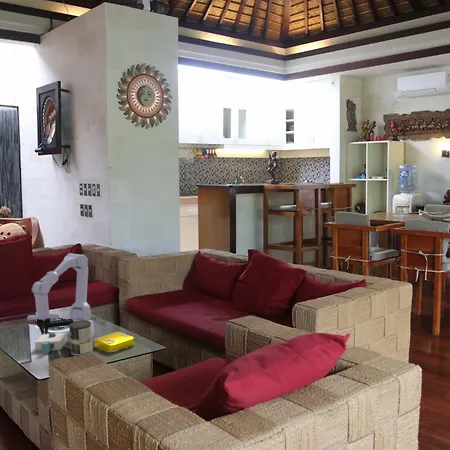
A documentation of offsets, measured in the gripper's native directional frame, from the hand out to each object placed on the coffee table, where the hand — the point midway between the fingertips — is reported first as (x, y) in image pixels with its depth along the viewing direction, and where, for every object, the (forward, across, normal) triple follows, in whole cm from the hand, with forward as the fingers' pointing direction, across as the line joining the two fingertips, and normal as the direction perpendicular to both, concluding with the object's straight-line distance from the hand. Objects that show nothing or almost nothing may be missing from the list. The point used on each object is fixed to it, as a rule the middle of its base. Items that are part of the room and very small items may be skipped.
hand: (44, 333), depth 269 cm
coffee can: (+10, +18, -1) cm, 20 cm away
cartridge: (+9, 0, +5) cm, 10 cm away
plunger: (+6, 0, +11) cm, 12 cm away
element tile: (+10, +32, +6) cm, 34 cm away
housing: (+9, 0, +9) cm, 13 cm away
